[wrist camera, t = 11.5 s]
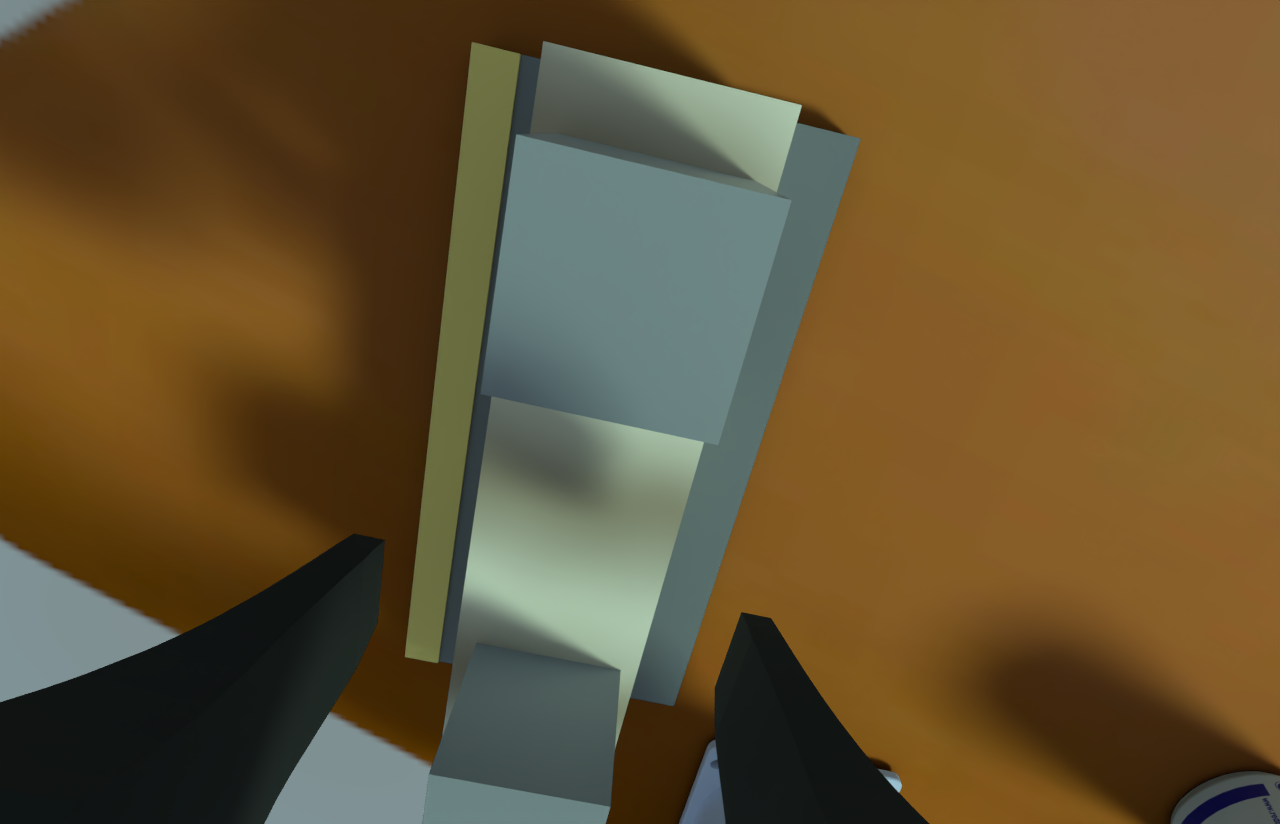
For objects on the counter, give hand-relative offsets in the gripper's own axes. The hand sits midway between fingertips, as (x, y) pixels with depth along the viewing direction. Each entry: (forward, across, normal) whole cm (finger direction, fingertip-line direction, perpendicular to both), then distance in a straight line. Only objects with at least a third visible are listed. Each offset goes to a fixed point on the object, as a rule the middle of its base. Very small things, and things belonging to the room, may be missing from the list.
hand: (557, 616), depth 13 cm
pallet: (+8, 0, 0) cm, 8 cm away
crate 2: (+3, 0, -7) cm, 7 cm away
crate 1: (+3, 0, +6) cm, 7 cm away
